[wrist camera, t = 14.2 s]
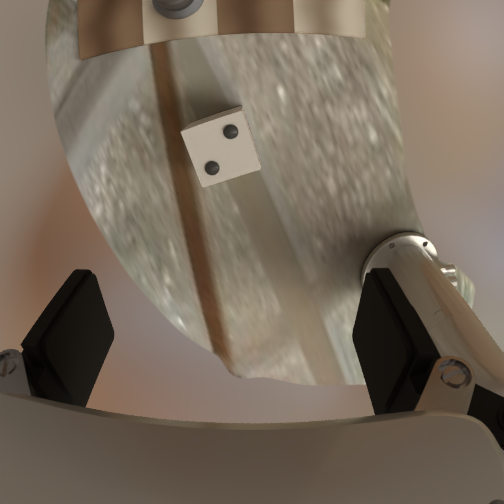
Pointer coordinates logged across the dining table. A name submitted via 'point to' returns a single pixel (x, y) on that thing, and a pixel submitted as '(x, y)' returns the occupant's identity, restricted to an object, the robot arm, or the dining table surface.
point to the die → (221, 146)
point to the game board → (210, 21)
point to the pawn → (177, 8)
